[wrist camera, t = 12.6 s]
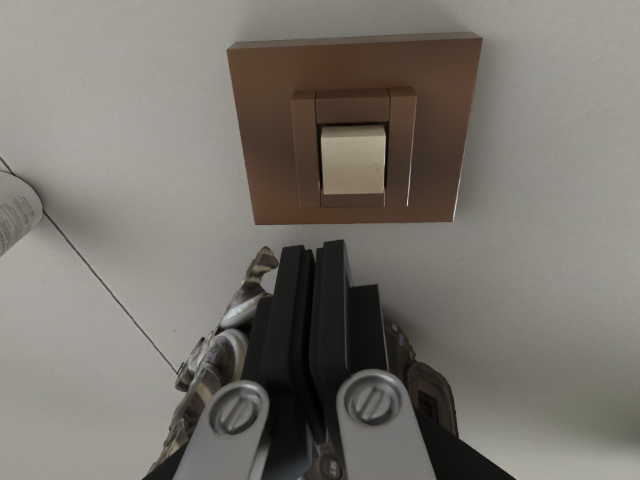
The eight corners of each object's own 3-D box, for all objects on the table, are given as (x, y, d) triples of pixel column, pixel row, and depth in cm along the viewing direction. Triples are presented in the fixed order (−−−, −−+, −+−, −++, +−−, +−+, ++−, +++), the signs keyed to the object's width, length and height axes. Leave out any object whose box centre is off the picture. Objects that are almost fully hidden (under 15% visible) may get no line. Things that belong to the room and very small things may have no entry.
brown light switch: (234, 42, 21) (217, 55, 18) (472, 31, 20) (493, 43, 17) (260, 209, 27) (250, 240, 24) (446, 206, 26) (459, 237, 23)
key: (322, 126, 20) (320, 137, 19) (383, 124, 20) (386, 136, 19) (324, 180, 22) (323, 194, 21) (381, 179, 22) (383, 193, 21)
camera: (147, 511, 13) (532, 670, 17) (279, 215, 28) (475, 338, 32) (36, 600, 28) (261, 676, 32) (161, 374, 42) (306, 446, 46)
